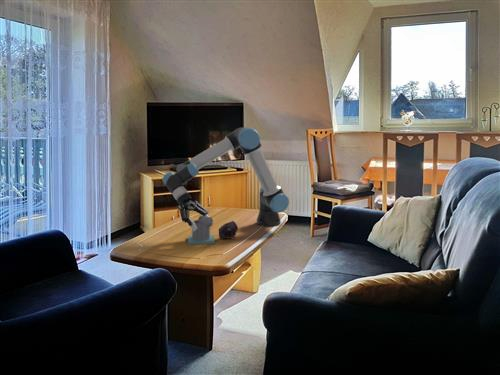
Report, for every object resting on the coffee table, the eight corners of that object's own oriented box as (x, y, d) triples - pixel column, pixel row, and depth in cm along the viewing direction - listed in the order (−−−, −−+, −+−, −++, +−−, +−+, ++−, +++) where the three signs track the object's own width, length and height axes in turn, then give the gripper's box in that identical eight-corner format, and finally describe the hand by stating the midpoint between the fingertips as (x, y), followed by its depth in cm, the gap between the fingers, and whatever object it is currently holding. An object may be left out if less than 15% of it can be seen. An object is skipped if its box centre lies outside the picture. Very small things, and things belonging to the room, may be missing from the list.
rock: (216, 240, 243) (231, 242, 238) (214, 225, 241) (229, 228, 235) (229, 232, 253) (243, 235, 247) (227, 218, 250) (242, 220, 245)
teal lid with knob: (213, 237, 244) (213, 227, 243) (214, 243, 232) (214, 233, 231) (188, 238, 242) (187, 228, 241) (187, 244, 230) (187, 234, 230)
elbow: (188, 238, 236) (188, 216, 234) (199, 235, 243) (199, 213, 241) (204, 241, 230) (204, 218, 228) (215, 237, 238) (215, 215, 236)
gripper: (193, 197, 253) (214, 226, 247) (162, 204, 232) (184, 236, 226) (200, 189, 249) (221, 218, 243) (170, 195, 228) (192, 227, 223)
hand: (204, 227), depth 235 cm, fingers open, 13 cm apart
